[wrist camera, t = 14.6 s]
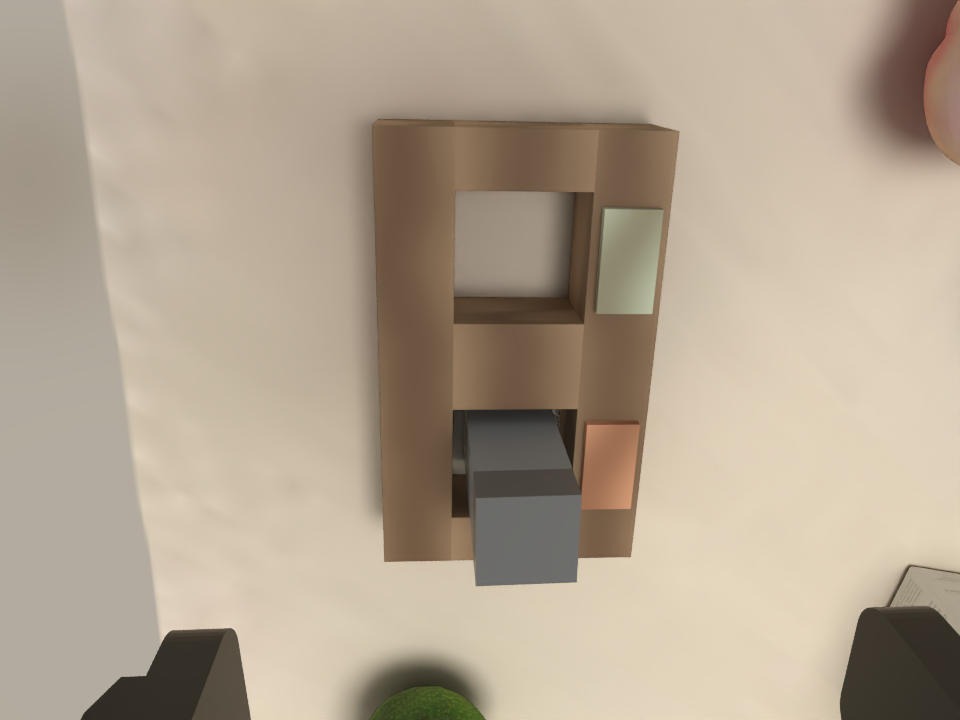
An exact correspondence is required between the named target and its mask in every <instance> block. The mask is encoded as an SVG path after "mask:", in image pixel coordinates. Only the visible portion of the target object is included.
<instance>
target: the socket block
mask: <svg viewBox="0 0 960 720" xmlns="http://www.w3.org/2000/svg"><path fill="white" fill-rule="evenodd" d="M678 139H679V131H675V130H672V129H668V128H664V127H660V126H656V125H652V124H606V123H556V122H505V121H454V120H403V119H378V120H377V121H376V122H375V123H374V124H373V125H372V141H373V177H374V212H375V248H376V283H377V318H378V354H379V389H380V425H381V460H382V495H383V531H384V562H398V561H449V560H473V548H472V537H471V526H470V515H469V504H468V493H467V482H466V475H452V432H453V410H506V409H560V424H559V432H560V435H561V438H562V441H563V444H564V446H565V449H566V452H567V455H568V458H569V460H570V463H571V466H572V469H573V472H574V474H575V477H576V480H577V483H578V486H579V488H580V491H581V494H582V500H581V517H580V533H579V550H578V558H602V557H631V551H632V542H633V533H634V525H635V516H636V507H637V498H638V490H639V481H640V472H641V463H642V454H643V446H644V437H645V428H646V419H647V411H648V402H649V393H650V384H651V376H652V367H653V358H654V349H655V341H656V332H657V323H658V314H659V306H660V297H661V288H662V279H663V271H664V262H665V253H666V244H667V236H668V227H669V218H670V209H671V200H672V192H673V183H674V174H675V165H676V157H677V148H678ZM455 190H466V191H540V192H575V203H574V218H573V232H572V247H571V262H570V277H569V291H568V298H487V297H454V240H455Z"/></svg>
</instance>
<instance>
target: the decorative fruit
mask: <svg viewBox="0 0 960 720" xmlns="http://www.w3.org/2000/svg"><path fill="white" fill-rule="evenodd" d="M924 111H925V117H926V122H927V126H928V129H929V132H930V134H931V136H932V138H933V140H934V142H935V143H936V145H937V146H938V148H939V149H940V150H941V151H942V152H943V153H944V154H945V155H946V156H947V157H948V158H949V159H951V160H952V161H953V162H955V163H957V164H958V165H960V0H958V1H957V3H956V4H955V6H954V8H953V10H952V12H951V14H950V17H949V19H948V22H947V28H946V35H945V39H944V40H943V41H942V43H941V44H940V45H939V46H938V48H937V49H936V50H935V52H934V53H933V55H932V57H931V59H930V61H929V63H928V66H927V68H926V74H925V82H924Z"/></svg>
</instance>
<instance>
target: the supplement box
mask: <svg viewBox="0 0 960 720" xmlns="http://www.w3.org/2000/svg"><path fill="white" fill-rule="evenodd" d="M902 606H929V607H931V608H933V609H935V610H936V611H938V612H939V613H940V614H941V615H942V616H943V617H944V618H945V620H946V621H947V622H948V623H949V624H950V625H951V626H952V627H953V629H954V630H955V631H956V632H957V633H958V634H959V635H960V574H957V573H951V572H945V571H938V570H932V569H926V568H920V567H910V568H909V570H908V572H907V574H906V576H905V578H904V580H903V582H902V584H901V586H900V588H899V589H898V591H897V593H896V595H895V597H894V599H893V601H892V603H891V605H890V607H902Z"/></svg>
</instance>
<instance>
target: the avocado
mask: <svg viewBox="0 0 960 720" xmlns="http://www.w3.org/2000/svg"><path fill="white" fill-rule="evenodd" d="M369 720H486V719H485V718H484V717H483V716H482V714H481V713H480V712H479V711H478V710H477V708H476V707H475V706H474V705H473V704H472V703H470V702H469V701H468V700H467V699H465V698H464V697H463V696H462V695H460V694H459V693H456V692H453V691H450V690H448V689H445V688H442V687H439V686H426V687H413V688H410V689H407V690H404V691H401V692H399V693H396V694H394V695H392V696H391V697H389V698H388V699H387V700H385V701H384V702H383V703H382V704H381V705H380V706H379V707H378V709H377V710H376V711H375V712H374V713H373V715H372V716H371V718H370V719H369Z"/></svg>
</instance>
